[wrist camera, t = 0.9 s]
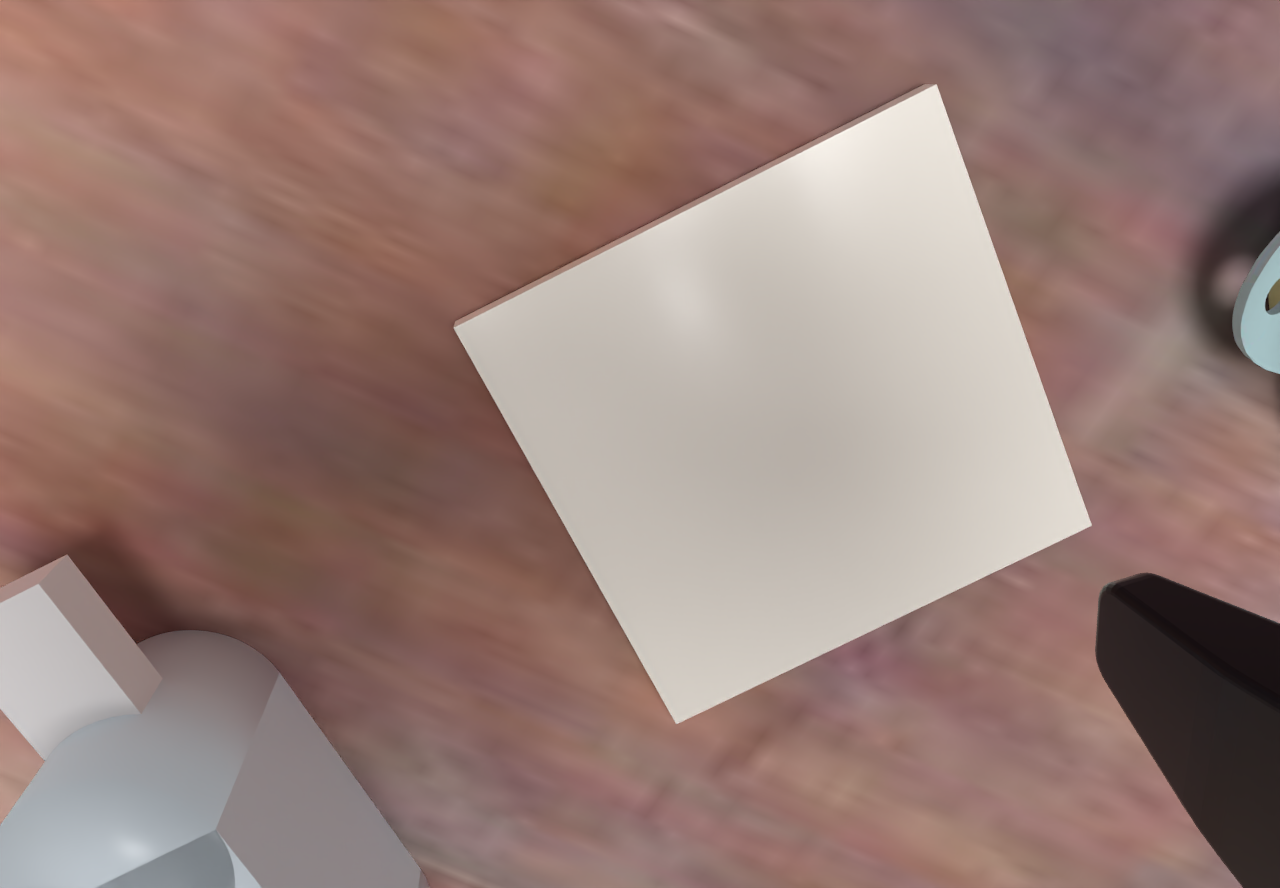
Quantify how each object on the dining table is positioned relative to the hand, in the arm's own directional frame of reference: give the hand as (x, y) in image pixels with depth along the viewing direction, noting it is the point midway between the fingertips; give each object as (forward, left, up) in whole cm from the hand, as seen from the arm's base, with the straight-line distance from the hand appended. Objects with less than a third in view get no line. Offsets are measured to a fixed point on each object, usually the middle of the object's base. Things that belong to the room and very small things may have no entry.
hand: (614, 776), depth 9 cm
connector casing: (-5, +10, -13) cm, 17 cm away
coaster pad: (-3, -4, -13) cm, 14 cm away
